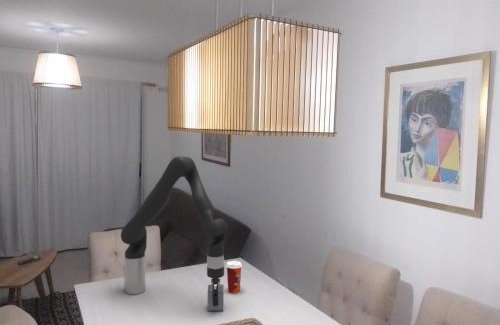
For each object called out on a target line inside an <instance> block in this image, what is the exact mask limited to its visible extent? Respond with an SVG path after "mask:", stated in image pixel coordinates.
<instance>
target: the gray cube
mask: <svg viewBox="0 0 500 325" xmlns="http://www.w3.org/2000/svg"><path fill="white" fill-rule="evenodd" d="M211 286H212V285H211V284H208V285H207V309H206V310H207V311H208V312H209V311H215V312H216V311H217V312H218V311H224V293H225V292H224V290H225V289H224V286H225V285H224V283H223V284H221V283H220V286H219V292H218V295H219V297H218V306H213V298H212V291H211ZM214 295H217V293H214Z"/></svg>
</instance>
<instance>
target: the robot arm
mask: <svg viewBox="0 0 500 325" xmlns="http://www.w3.org/2000/svg"><path fill="white" fill-rule="evenodd" d="M181 178H184V179H185V180H186V182H187V183H188V184H189V185H188V186H189V187H190V192H191V198H192V199H191V200H192V203H193V205H194V207H195V210H196V211H197V213H198V215H199V218H200V222H201V227H202V230H203V232H204V234H205V235H206V236H207V237H209V238H211V240H210V241H208V243H207V246H206V247H207V257H206V276H207V277H208V278H210V285H212V286H211V291H212V298H213V306H218V297H219V295H218V292H219V286H220V285H221V278H222V277H225V257H224V256H225V255H224V251H225V250H224V247H225V246H224V245H225V242H226V237H227V232H228V226H227V223H226V221H225V220H224V219H223V218H216V219H214V218H213V215H214V213H215V212H216V211H215V210H216V209H215V207H214V206H213V203H212V201H211V200H210V198H209V196H208V194H207V192H206V190H205V188H204V185H203V182H202V179H201V177H200V174H199V171H198V168H197V165H196V163H195V161H194V159H193V158H191V157H189V156H183V155H182V156H175V157H173V158H172V159H171V160H170V161H169V163H168V165H167V166H166V168H165V170H164V171H163V174H162V175H161V177H160V178H159V179H158V181H157V183H155V186H154V187H153V188H152V190H150V192H149V193H148V195H147V196H146V198H145V199H144V200H143V202H142V204H141V205H140V206H139V208H138V210H137V211H136V213H135V214H134V215H133V217H132V218H130V220H129V221H128V222H127V223H126V224H125V226H123V228H122V230H121V231H120V239H121V241H122V243H124V244H126V245H128V246H127V248H126V249H125V251H124V271H123V274H124V275H123V278H124V280H123V281H124V282H123V283H124V288H123V290H124V291H125V293H126V294H128V295H138V294H143V293H144V292H145V291H146V256H145V254H146V250H147V243H148V242H147V238H148V237H147V236H148V235H147V228H146V226H147V225H148V224H149V223H150V222H151V221H152V220H154V219H155V218H156V217H157V216H159V215H160V213H161V212H162V211H163V210H164V208H165V207H166V206H167V205H168V203H169V201H170V199H171V195H172V194H171V193H172V189H173V187H174V185H175V184H176V183H177V182H178V180H180V179H181ZM214 293H217V295H214Z"/></svg>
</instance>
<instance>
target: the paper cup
mask: <svg viewBox="0 0 500 325" xmlns="http://www.w3.org/2000/svg"><path fill="white" fill-rule="evenodd" d="M225 266H226V272H227V273H226V275H227V276H226V277H227V278H226V279H227V289H228V290H227V291H228V293H230V294H238V293H240V292H241V281H242V267H243V265H242V263H241V262H240V261H238V260H230V261H228V262H227V263H226V265H225Z"/></svg>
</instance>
